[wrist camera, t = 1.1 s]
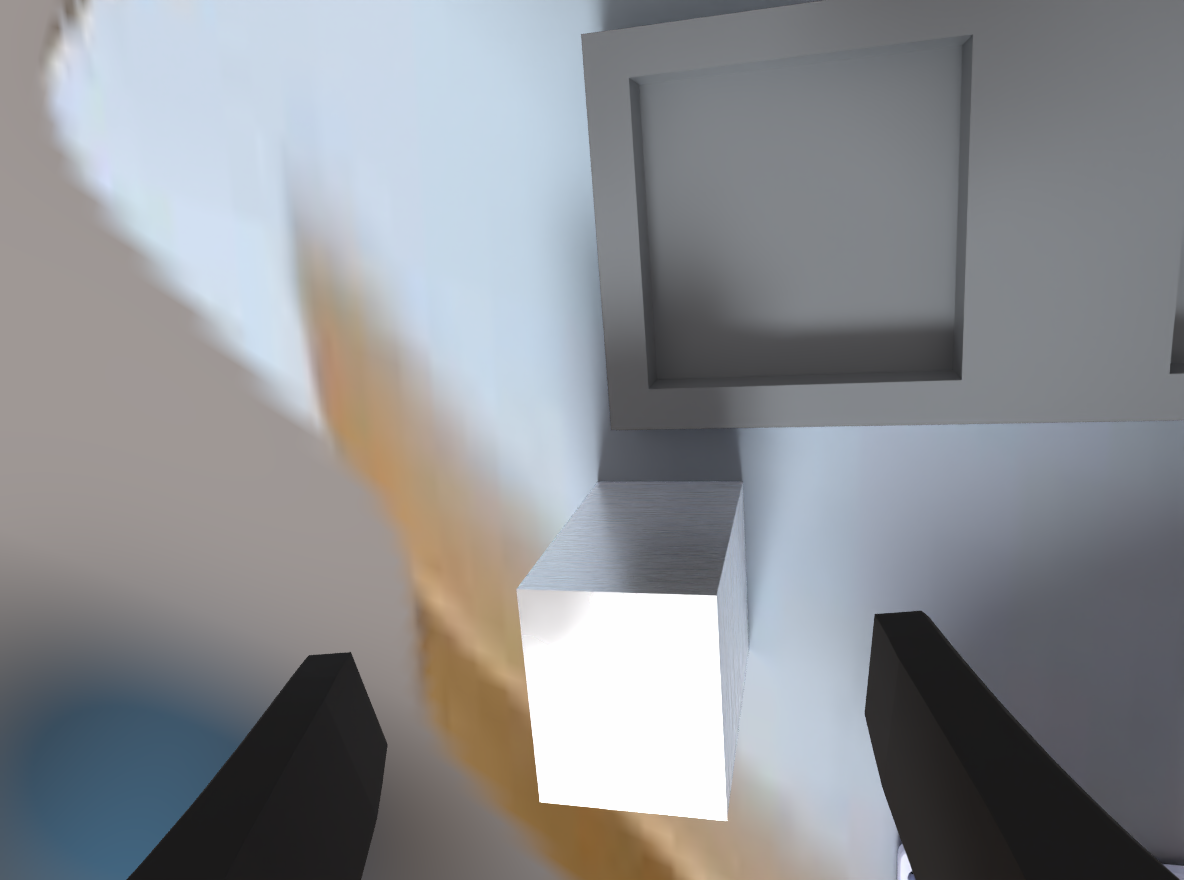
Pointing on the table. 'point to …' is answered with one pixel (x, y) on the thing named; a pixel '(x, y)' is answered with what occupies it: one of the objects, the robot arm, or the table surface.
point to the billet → (640, 649)
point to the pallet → (892, 214)
